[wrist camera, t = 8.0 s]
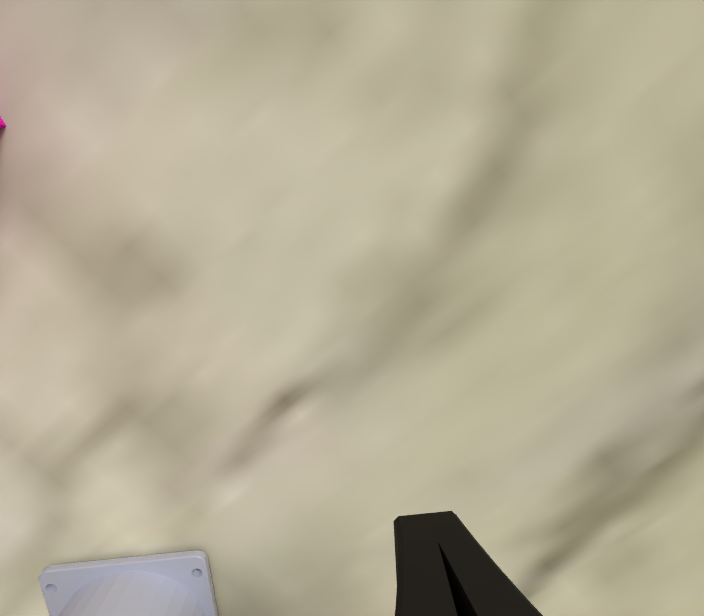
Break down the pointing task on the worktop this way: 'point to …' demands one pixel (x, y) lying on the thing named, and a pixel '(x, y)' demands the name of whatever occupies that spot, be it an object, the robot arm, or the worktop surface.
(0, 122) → the toy block
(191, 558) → the robot arm
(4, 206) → the worktop surface
